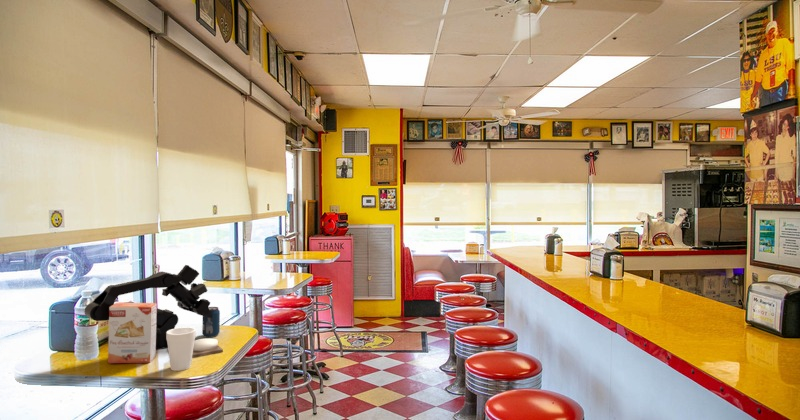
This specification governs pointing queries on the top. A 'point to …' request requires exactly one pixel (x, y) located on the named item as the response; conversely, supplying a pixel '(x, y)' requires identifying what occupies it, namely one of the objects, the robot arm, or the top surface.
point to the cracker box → (132, 332)
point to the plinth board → (196, 353)
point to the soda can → (211, 323)
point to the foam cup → (180, 347)
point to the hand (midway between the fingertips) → (206, 315)
